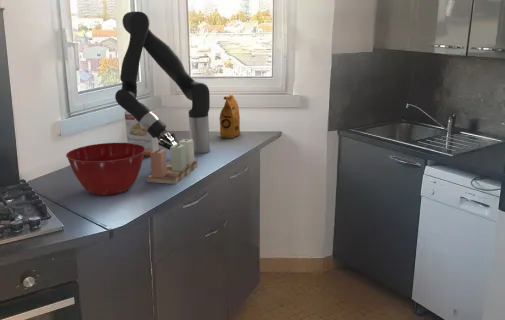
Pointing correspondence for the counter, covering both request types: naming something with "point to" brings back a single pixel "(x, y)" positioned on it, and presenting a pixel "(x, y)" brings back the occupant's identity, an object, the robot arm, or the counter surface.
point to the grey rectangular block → (188, 150)
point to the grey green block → (178, 157)
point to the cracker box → (140, 134)
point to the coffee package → (230, 118)
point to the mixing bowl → (107, 166)
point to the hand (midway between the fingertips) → (180, 153)
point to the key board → (173, 174)
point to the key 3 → (158, 163)
